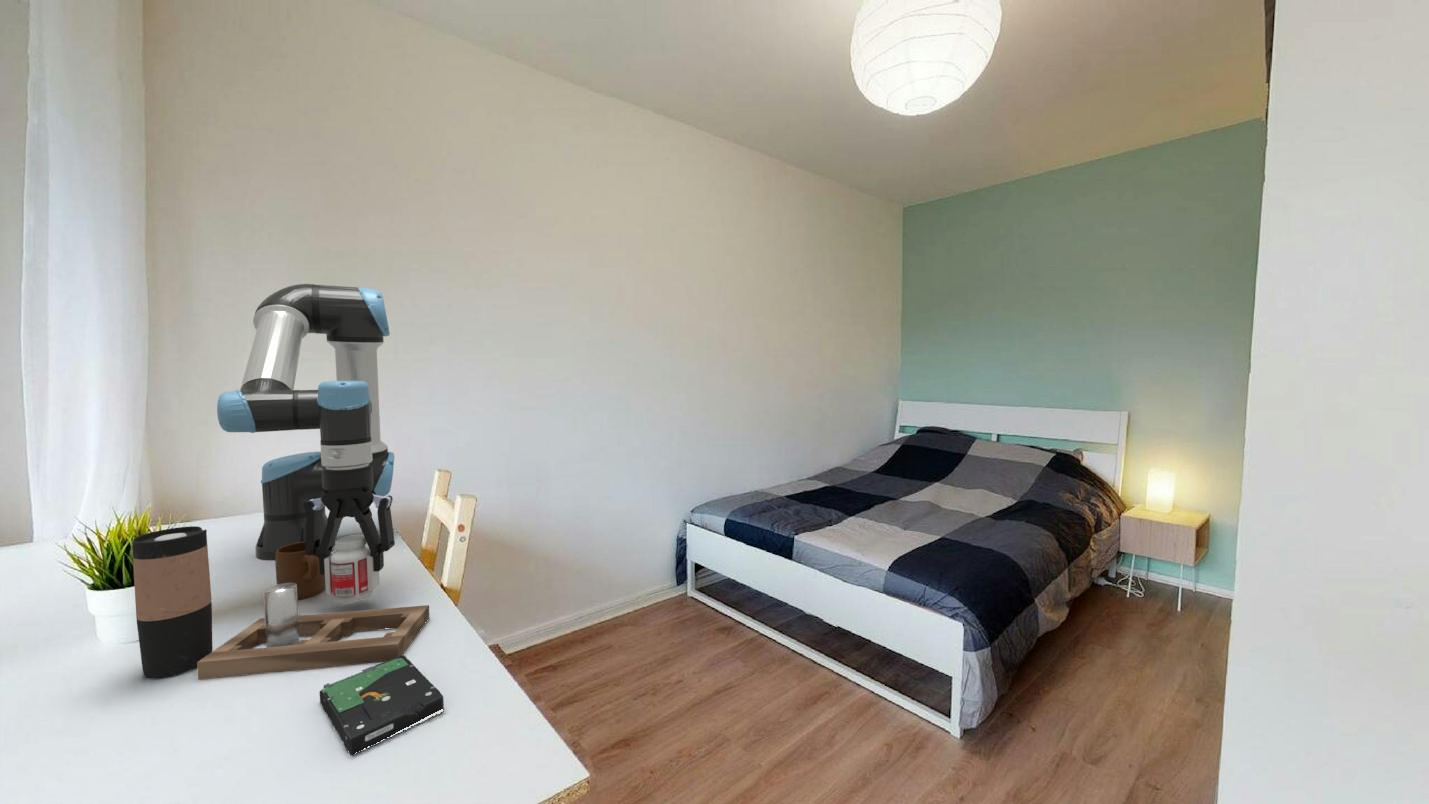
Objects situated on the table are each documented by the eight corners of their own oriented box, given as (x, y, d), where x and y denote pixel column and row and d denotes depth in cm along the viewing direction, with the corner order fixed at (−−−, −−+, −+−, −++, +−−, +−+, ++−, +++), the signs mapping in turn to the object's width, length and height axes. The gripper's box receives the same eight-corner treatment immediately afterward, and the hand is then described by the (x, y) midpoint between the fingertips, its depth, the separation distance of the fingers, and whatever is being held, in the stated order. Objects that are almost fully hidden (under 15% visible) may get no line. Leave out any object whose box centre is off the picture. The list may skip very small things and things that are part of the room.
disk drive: (446, 715, 66) (404, 670, 75) (445, 694, 65) (403, 652, 75) (351, 762, 58) (317, 705, 67) (350, 739, 57) (316, 685, 67)
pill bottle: (369, 586, 98) (367, 530, 97) (377, 596, 94) (374, 538, 93) (329, 596, 93) (326, 538, 93) (335, 608, 89) (332, 546, 88)
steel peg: (277, 644, 81) (274, 583, 81) (305, 641, 82) (302, 581, 82) (260, 658, 77) (256, 594, 77) (290, 655, 78) (286, 592, 78)
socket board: (261, 632, 85) (260, 618, 85) (429, 618, 90) (428, 605, 90) (198, 679, 72) (196, 662, 72) (398, 659, 77) (397, 643, 77)
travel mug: (124, 684, 71) (114, 544, 70) (167, 655, 78) (158, 528, 77) (192, 675, 73) (183, 539, 72) (227, 647, 80) (219, 524, 79)
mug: (341, 596, 98) (339, 549, 98) (292, 611, 92) (289, 561, 92) (319, 581, 105) (317, 537, 105) (272, 594, 99) (269, 548, 99)
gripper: (273, 471, 86) (280, 602, 88) (396, 468, 90) (401, 594, 92) (300, 463, 94) (306, 584, 95) (413, 460, 97) (417, 577, 99)
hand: (353, 588), depth 93 cm, fingers closed on pill bottle, 6 cm apart
